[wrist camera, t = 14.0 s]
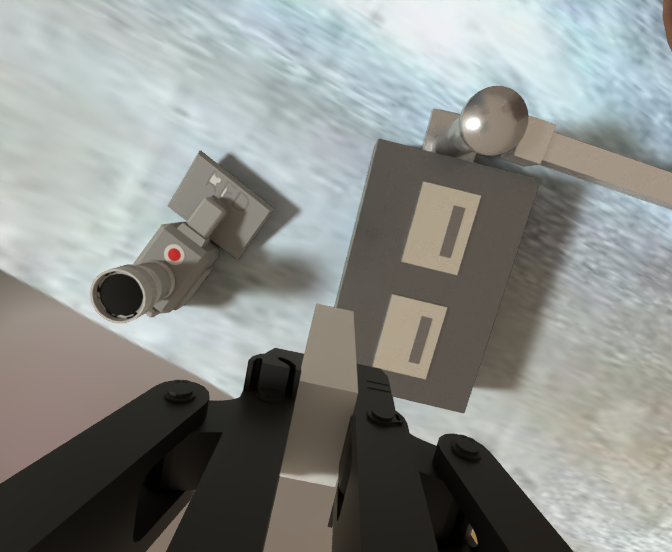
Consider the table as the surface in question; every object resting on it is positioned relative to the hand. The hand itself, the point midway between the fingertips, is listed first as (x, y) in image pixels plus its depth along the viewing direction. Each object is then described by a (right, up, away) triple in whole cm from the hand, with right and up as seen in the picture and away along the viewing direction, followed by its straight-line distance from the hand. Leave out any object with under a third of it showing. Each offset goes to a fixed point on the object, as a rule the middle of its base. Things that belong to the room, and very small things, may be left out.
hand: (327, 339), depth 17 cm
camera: (-14, +6, +27) cm, 31 cm away
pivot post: (+11, +15, +24) cm, 31 cm away
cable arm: (+24, +9, +16) cm, 31 cm away
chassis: (+8, +3, +27) cm, 28 cm away
